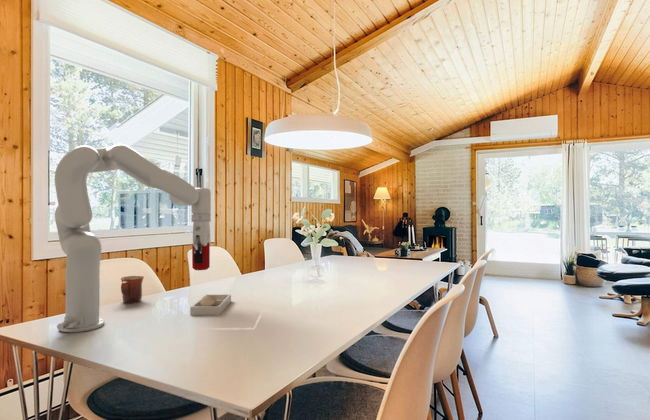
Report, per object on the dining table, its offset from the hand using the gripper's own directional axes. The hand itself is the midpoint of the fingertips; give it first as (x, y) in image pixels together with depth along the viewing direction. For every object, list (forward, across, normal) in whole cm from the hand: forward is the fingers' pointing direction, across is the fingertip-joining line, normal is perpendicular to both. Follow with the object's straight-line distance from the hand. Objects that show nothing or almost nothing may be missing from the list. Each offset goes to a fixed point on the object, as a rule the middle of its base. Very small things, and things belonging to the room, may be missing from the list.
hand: (201, 261), depth 153 cm
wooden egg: (+18, -10, -6) cm, 21 cm away
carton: (+18, -5, -6) cm, 20 cm away
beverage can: (+4, 0, 0) cm, 4 cm away
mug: (+18, +6, +31) cm, 37 cm away
